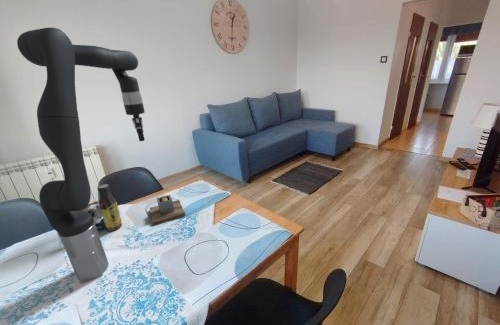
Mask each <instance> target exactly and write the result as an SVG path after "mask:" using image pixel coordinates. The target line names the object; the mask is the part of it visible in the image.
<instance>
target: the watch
mask: <svg viewBox="0 0 500 325" xmlns="http://www.w3.org/2000/svg"><path fill="white" fill-rule="evenodd" d="M84 212H87V213H89V214H91V215H92V217H93V220H94V223H95V226H96V228H97V231H99V232H100V231H105V230H106V229H107V228H106V226H105V223H104V220H103V216H102V213H101V209H100V205H99V204H98V203H97V204H91V205H88V208H87V209H86V211H84Z"/></svg>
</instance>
